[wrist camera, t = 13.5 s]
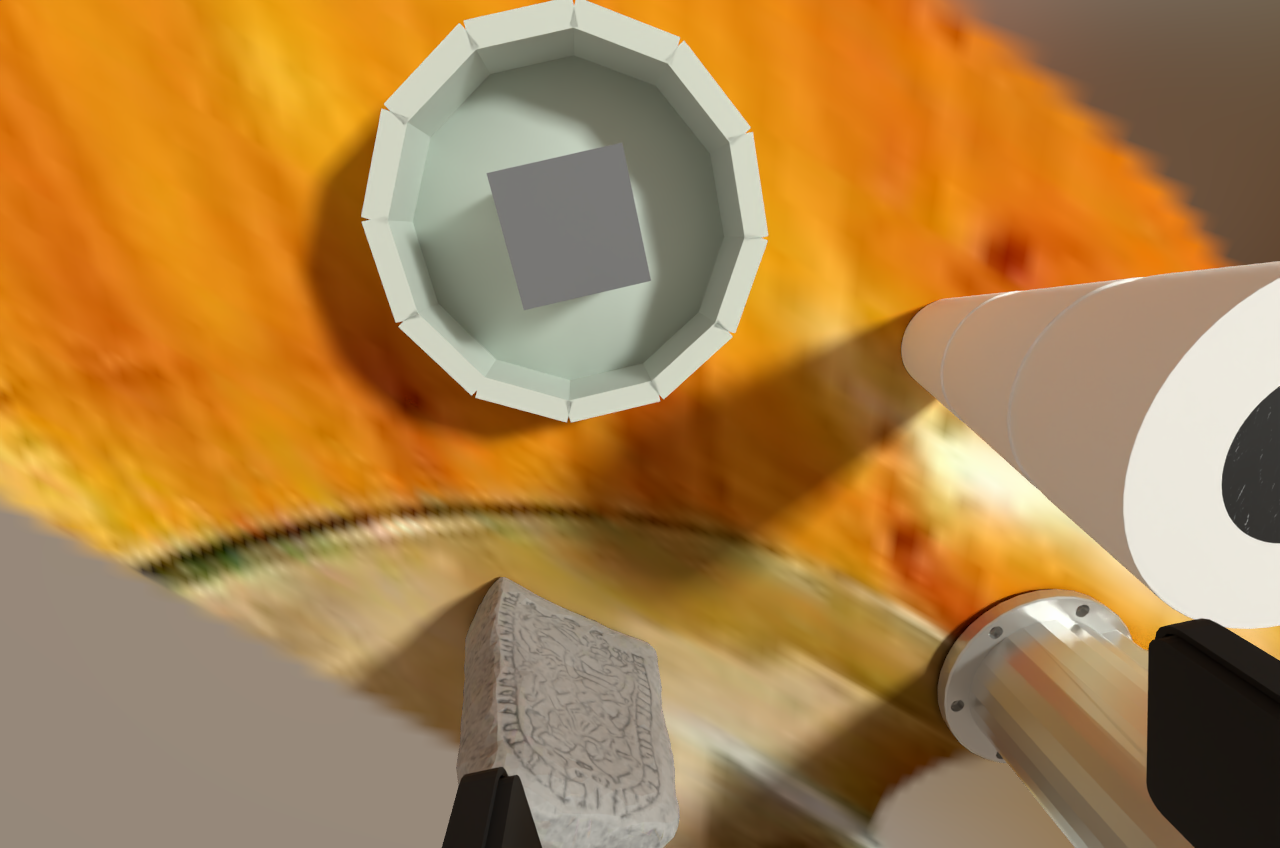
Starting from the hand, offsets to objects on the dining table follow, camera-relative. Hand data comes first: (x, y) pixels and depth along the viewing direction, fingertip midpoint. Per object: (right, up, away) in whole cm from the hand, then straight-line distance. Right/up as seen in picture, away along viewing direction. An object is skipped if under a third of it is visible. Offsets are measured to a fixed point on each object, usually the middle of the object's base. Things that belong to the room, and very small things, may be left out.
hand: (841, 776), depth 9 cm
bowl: (-6, +15, +21) cm, 27 cm away
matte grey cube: (-6, +14, +21) cm, 26 cm away
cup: (+13, +9, +25) cm, 30 cm away
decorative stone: (-7, -7, +28) cm, 30 cm away
